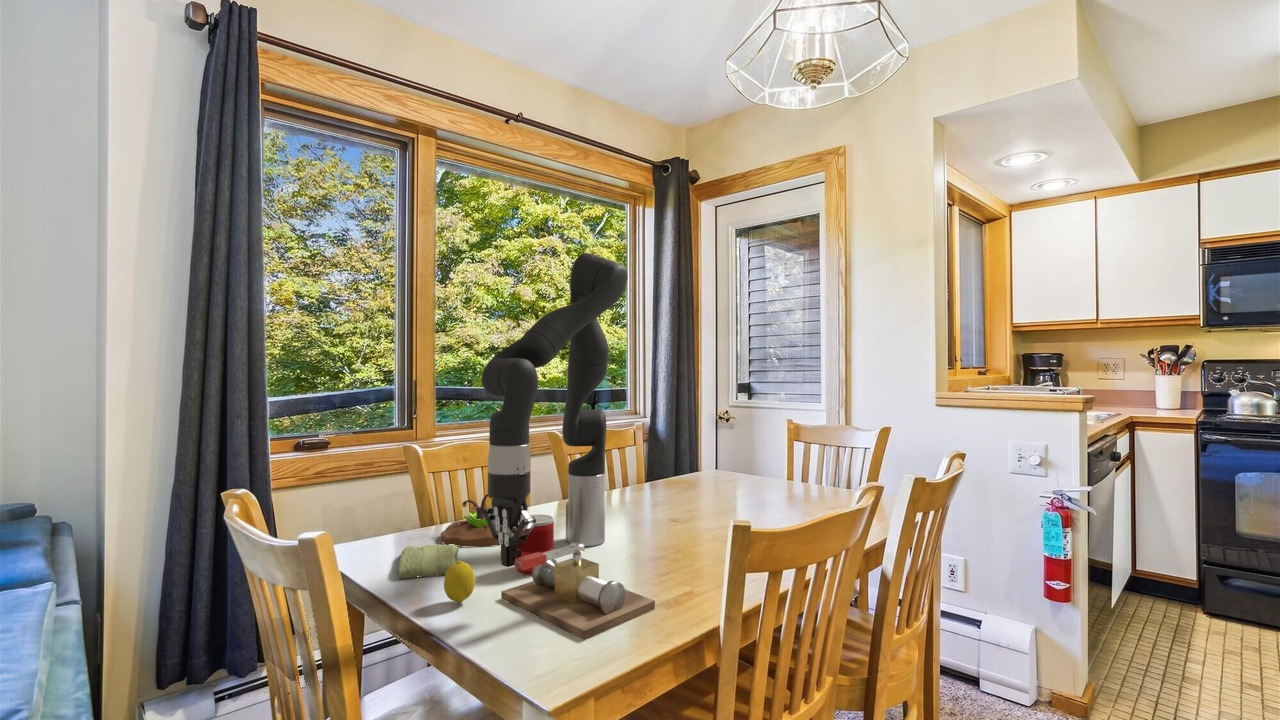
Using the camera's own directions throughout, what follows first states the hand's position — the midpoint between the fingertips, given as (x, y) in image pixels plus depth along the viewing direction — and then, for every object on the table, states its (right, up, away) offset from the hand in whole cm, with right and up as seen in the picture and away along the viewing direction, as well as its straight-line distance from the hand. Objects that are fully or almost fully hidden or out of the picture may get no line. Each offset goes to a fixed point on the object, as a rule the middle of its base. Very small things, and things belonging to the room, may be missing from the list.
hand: (508, 565), depth 106 cm
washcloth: (-24, -9, +26) cm, 36 cm away
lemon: (-10, -9, +4) cm, 14 cm away
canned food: (+1, -9, +23) cm, 24 cm away
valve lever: (+8, +1, 0) cm, 8 cm away
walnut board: (+12, -9, +4) cm, 15 cm away
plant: (-17, -10, +48) cm, 52 cm away
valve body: (+12, -9, +4) cm, 15 cm away
